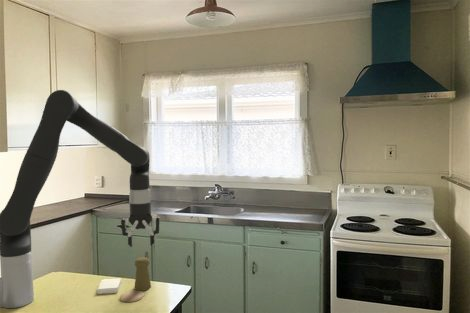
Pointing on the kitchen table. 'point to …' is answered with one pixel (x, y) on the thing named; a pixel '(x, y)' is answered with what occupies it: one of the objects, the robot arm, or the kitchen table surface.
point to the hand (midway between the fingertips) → (141, 245)
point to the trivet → (131, 296)
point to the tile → (109, 286)
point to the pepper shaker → (142, 274)
